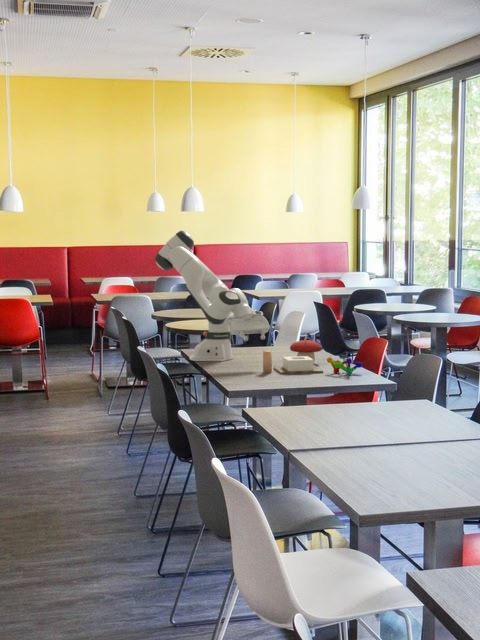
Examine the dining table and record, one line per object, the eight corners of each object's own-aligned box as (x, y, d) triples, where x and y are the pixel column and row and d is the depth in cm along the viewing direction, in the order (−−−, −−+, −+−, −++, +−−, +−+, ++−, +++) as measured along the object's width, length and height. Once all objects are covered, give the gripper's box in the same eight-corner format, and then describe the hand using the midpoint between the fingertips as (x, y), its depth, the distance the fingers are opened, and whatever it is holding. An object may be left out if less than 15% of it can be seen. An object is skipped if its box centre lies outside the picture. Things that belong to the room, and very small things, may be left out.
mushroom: (323, 365, 414) (323, 335, 413) (290, 365, 414) (290, 335, 413) (320, 361, 430) (320, 331, 428) (289, 361, 430) (289, 331, 429)
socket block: (288, 371, 392) (288, 360, 392) (282, 367, 404) (282, 356, 403) (313, 370, 394) (313, 359, 393) (307, 366, 406) (307, 356, 405)
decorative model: (342, 361, 400) (365, 356, 389) (342, 380, 398) (366, 375, 386) (322, 357, 392) (345, 352, 381) (322, 376, 390) (345, 371, 379)
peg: (263, 373, 392) (263, 351, 391) (262, 372, 396) (262, 350, 395) (272, 373, 393) (272, 351, 392) (270, 371, 397) (270, 350, 396)
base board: (280, 374, 390) (280, 372, 390) (273, 368, 405) (273, 366, 405) (323, 372, 393) (323, 370, 393) (314, 367, 408) (314, 365, 408)
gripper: (227, 313, 403) (237, 336, 395) (265, 311, 412) (275, 333, 405) (223, 322, 407) (233, 344, 399) (260, 320, 417) (270, 342, 409)
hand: (254, 339), depth 402 cm, fingers open, 8 cm apart
